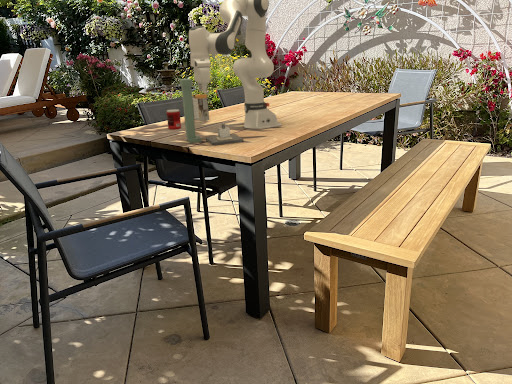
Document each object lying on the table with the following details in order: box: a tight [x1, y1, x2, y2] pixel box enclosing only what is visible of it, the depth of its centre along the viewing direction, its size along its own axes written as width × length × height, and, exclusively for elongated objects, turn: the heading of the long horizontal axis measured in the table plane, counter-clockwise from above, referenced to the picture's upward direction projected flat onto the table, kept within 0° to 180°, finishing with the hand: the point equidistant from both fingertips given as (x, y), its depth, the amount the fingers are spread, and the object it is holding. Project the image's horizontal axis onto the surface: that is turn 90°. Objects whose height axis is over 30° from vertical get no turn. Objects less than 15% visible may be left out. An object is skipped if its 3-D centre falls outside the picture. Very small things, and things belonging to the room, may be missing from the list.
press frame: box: [179, 78, 202, 144], centre depth 206 cm, size 7×8×31 cm
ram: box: [192, 93, 208, 119], centre depth 207 cm, size 8×6×12 cm
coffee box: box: [192, 95, 210, 122], centre depth 271 cm, size 9×6×16 cm
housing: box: [217, 123, 231, 139], centre depth 206 cm, size 5×5×7 cm
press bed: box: [205, 133, 244, 146], centre depth 208 cm, size 16×14×2 cm
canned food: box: [166, 108, 182, 131], centre depth 246 cm, size 8×8×11 cm
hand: (202, 91), depth 200 cm, fingers open, 8 cm apart
